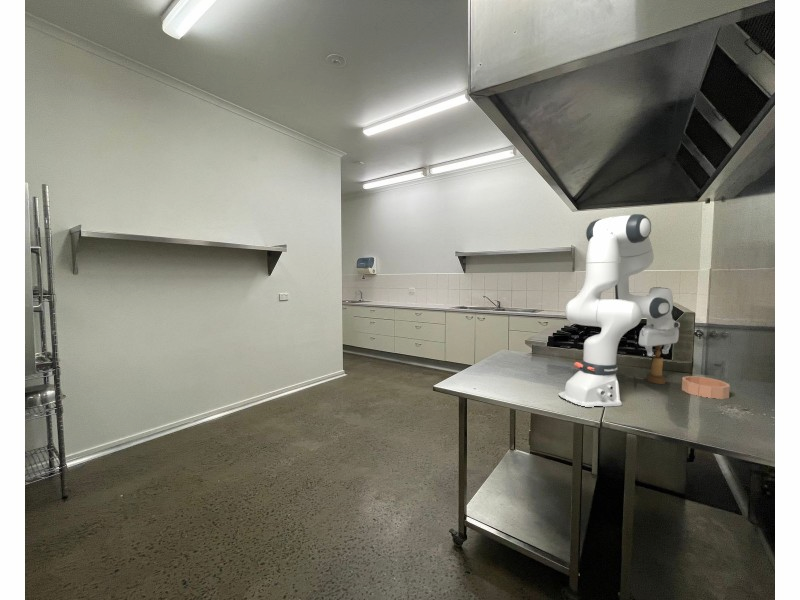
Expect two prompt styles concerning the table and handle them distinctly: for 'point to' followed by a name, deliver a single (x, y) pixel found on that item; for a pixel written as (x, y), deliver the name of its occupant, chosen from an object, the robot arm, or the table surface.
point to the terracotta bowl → (705, 387)
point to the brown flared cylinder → (656, 368)
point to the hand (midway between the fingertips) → (657, 354)
